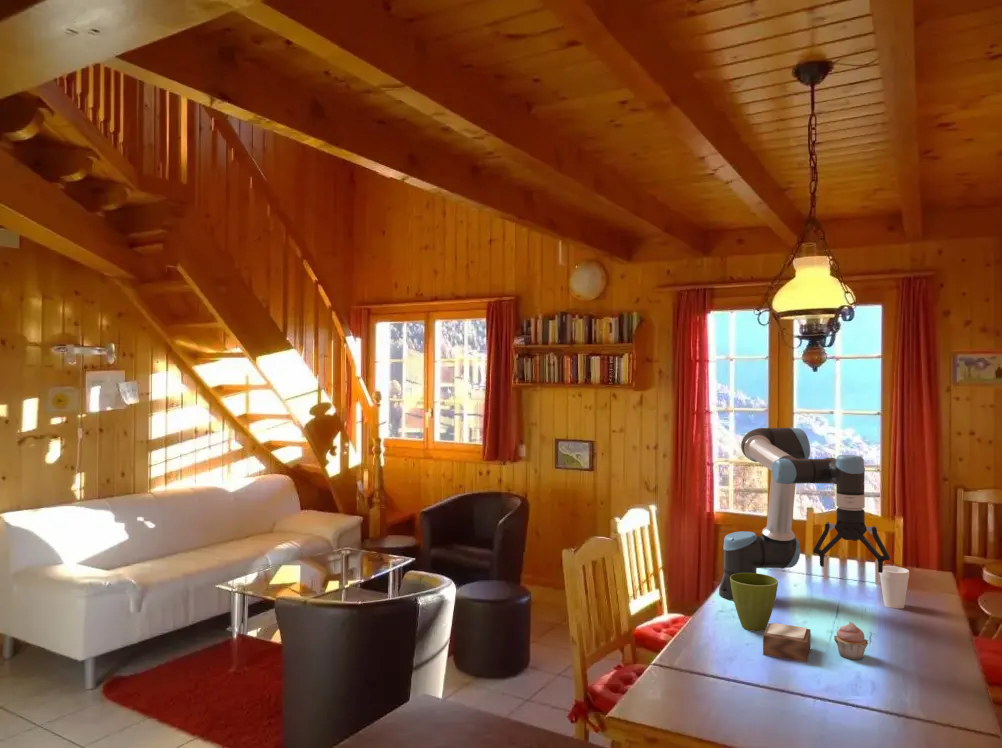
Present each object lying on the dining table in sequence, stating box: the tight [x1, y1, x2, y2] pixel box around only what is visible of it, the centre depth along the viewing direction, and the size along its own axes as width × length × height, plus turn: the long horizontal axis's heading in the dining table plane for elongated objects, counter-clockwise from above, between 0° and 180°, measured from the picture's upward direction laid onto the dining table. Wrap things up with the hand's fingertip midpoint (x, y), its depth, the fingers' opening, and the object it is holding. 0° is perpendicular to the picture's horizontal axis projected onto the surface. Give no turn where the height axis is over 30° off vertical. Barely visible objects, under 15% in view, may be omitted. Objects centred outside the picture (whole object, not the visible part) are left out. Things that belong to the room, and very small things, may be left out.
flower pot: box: [730, 572, 779, 632], centre depth 240 cm, size 15×15×16 cm
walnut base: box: [762, 622, 812, 663], centre depth 219 cm, size 12×12×6 cm
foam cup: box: [878, 565, 910, 610], centre depth 262 cm, size 10×9×13 cm
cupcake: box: [833, 621, 869, 660], centre depth 216 cm, size 9×9×10 cm
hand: (850, 580), depth 215 cm, fingers open, 13 cm apart
